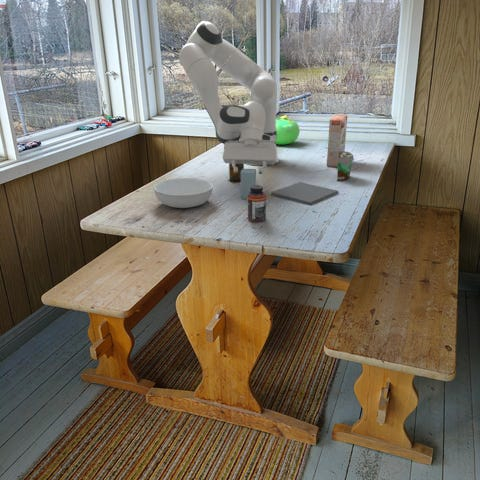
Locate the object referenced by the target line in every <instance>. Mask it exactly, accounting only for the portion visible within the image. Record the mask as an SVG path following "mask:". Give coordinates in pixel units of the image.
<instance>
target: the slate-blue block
mask: <svg viewBox="0 0 480 480" xmlns="http://www.w3.org/2000/svg"><path fill="white" fill-rule="evenodd" d="M252 185H257V169H256V168H244V169H242V171H241V183H240V199H241V200H244V199H245V200H248V193H249V192H250V191H251V190H250V189H251V186H252Z"/></svg>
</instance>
